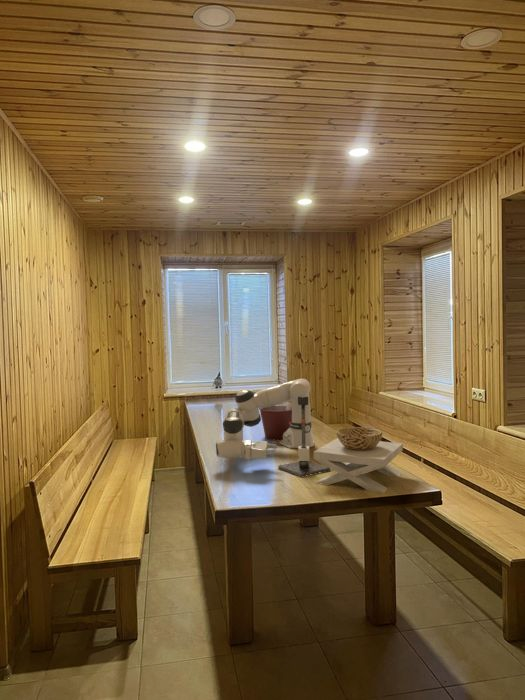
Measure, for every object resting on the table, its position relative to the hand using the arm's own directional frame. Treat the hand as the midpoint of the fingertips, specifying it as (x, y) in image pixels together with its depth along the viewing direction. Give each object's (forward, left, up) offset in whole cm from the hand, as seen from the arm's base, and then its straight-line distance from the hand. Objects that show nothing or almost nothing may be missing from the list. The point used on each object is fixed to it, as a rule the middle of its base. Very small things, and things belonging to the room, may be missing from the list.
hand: (276, 448), depth 251 cm
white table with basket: (+34, +23, -11) cm, 42 cm away
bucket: (-58, +43, -11) cm, 73 cm away
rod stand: (+8, +11, -10) cm, 17 cm away
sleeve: (+8, +11, -5) cm, 14 cm away
